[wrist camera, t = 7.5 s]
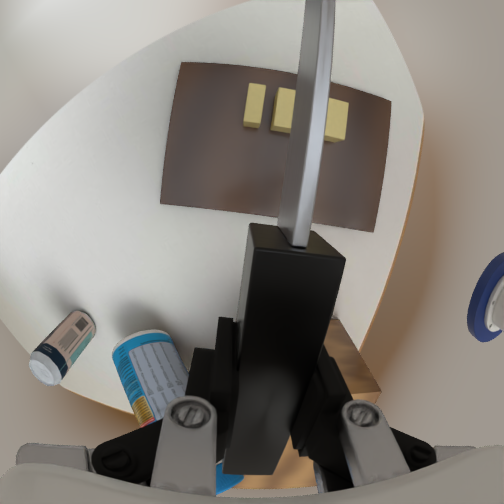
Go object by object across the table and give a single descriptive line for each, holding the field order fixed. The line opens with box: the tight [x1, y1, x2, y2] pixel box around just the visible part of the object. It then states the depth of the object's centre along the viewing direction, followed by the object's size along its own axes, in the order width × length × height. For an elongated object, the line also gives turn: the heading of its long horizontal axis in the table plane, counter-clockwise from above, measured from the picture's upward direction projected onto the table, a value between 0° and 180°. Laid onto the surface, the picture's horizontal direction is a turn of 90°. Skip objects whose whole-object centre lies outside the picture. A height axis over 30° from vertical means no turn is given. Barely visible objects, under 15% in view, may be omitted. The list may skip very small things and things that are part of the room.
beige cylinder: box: [29, 311, 96, 386], centre depth 28 cm, size 5×5×12 cm
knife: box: [222, 0, 346, 475], centre depth 7 cm, size 21×2×3 cm, turn 172°
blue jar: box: [112, 330, 244, 495], centre depth 26 cm, size 8×8×20 cm
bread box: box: [232, 319, 382, 489], centre depth 30 cm, size 12×20×14 cm, turn 172°
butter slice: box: [243, 83, 266, 128], centre depth 24 cm, size 2×4×3 cm, turn 172°
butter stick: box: [270, 87, 349, 143], centre depth 25 cm, size 7×4×3 cm, turn 82°
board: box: [160, 62, 391, 233], centre depth 27 cm, size 24×16×1 cm, turn 82°
